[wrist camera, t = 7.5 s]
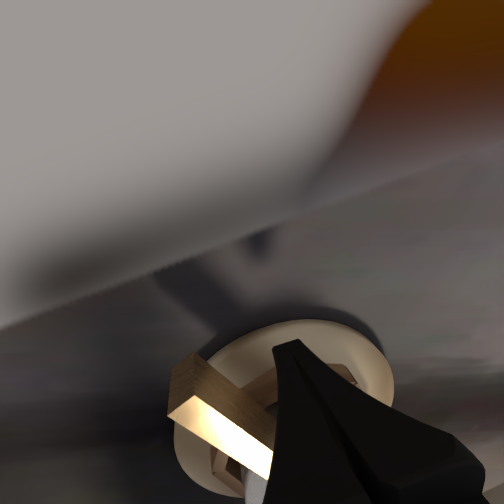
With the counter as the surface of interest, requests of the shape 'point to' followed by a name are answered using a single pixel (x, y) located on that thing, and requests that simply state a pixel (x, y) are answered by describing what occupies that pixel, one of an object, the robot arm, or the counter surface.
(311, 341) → the board
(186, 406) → the milk pan
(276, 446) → the robot arm
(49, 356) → the counter surface
